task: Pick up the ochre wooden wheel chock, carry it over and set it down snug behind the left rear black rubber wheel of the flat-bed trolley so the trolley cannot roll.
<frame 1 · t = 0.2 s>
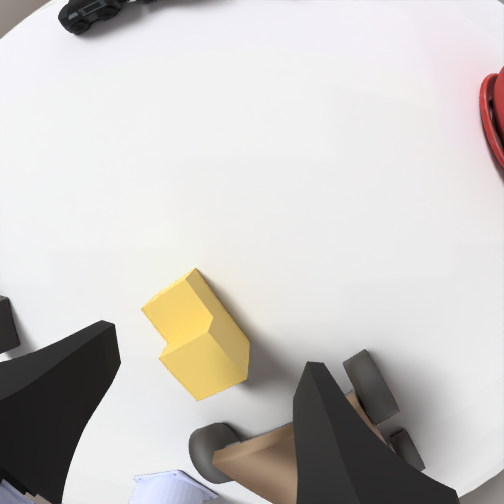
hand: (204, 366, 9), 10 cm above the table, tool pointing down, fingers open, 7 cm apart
wheel chock: (202, 318, 20), on the table
trolley: (320, 441, 22), on the table
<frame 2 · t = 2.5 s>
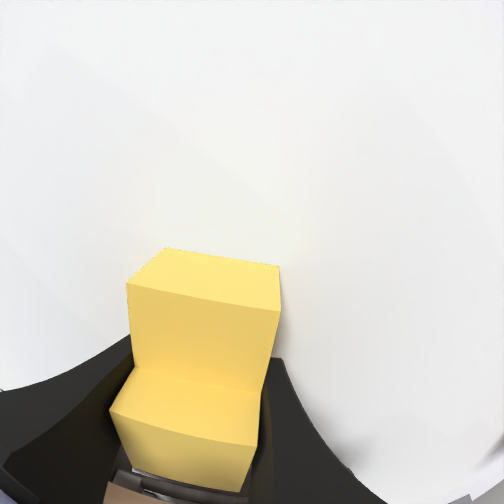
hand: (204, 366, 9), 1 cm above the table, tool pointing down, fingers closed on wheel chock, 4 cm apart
wheel chock: (212, 338, 11), on the table, touching gripper
trolley: (214, 492, 16), on the table
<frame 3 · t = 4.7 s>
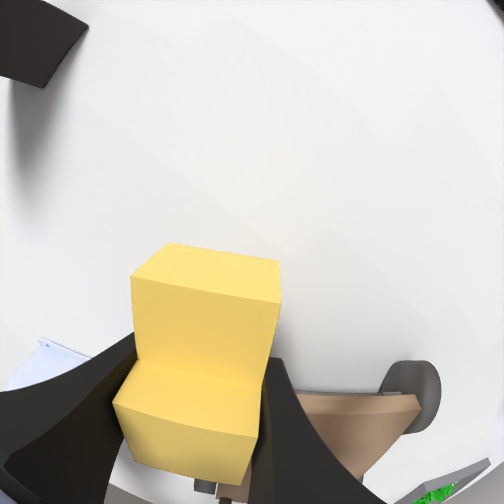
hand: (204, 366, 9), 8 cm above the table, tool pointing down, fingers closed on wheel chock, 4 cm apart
wheel chock: (213, 332, 11), point 7 cm above the table, touching gripper
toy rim: (432, 491, 32), on the table
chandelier: (425, 491, 33), resting in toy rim
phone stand: (46, 41, 12), on the table
trolley: (295, 422, 21), on the table
when the fingers open (2 cm above the table, at t = 6.5 s): wheel chock stays where it is, on the table.
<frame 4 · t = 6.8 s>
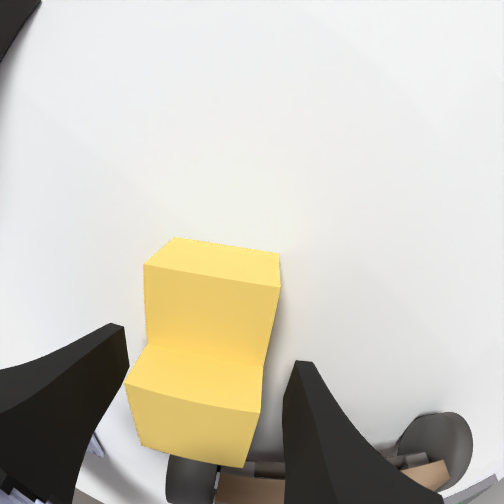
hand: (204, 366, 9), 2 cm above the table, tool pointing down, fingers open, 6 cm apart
wheel chock: (217, 321, 12), on the table
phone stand: (1, 26, 6), on the table
trolley: (297, 474, 16), on the table
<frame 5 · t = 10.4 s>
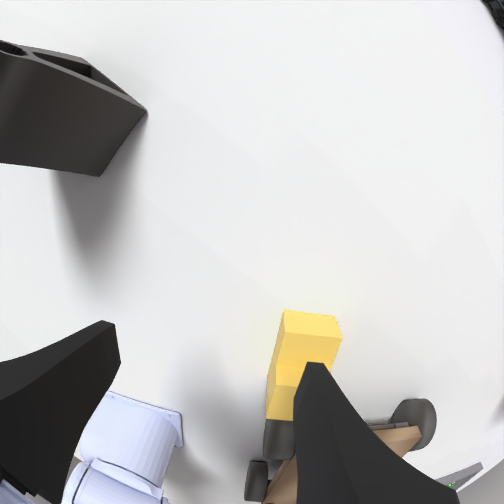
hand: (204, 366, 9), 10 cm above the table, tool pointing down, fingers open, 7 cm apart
wheel chock: (299, 348, 21), on the table
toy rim: (430, 491, 37), on the table
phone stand: (90, 112, 16), on the table
trolley: (326, 443, 26), on the table
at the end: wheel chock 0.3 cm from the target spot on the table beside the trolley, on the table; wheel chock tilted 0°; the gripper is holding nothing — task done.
